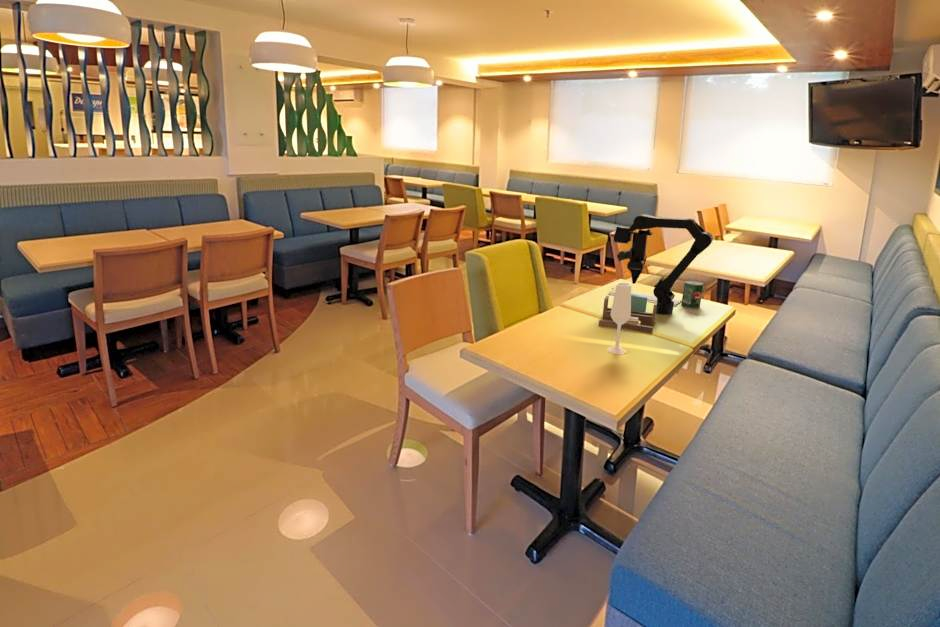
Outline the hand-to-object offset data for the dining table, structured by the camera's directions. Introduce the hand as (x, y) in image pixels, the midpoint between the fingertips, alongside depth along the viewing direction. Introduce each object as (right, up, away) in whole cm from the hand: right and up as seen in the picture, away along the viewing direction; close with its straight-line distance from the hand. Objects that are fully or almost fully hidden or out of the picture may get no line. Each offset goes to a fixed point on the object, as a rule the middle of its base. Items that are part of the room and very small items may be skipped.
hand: (634, 281), depth 230 cm
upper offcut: (-9, -17, -20) cm, 28 cm away
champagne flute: (-19, -27, -43) cm, 54 cm away
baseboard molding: (+11, -8, +23) cm, 26 cm away
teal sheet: (-3, -15, -4) cm, 16 cm away
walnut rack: (-8, -18, -15) cm, 25 cm away
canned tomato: (+29, -11, +12) cm, 33 cm away
